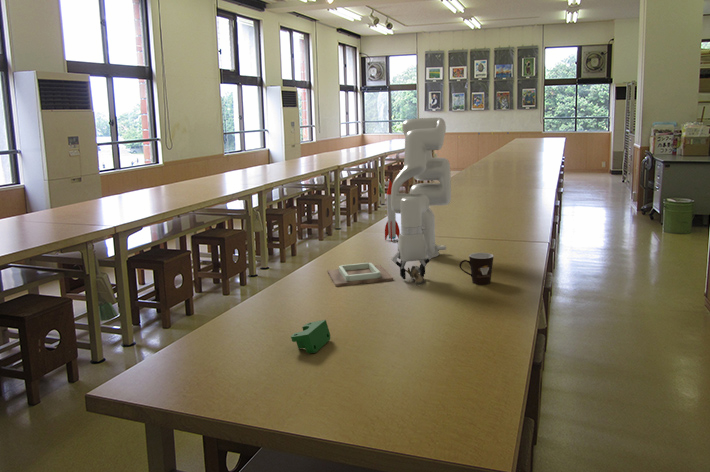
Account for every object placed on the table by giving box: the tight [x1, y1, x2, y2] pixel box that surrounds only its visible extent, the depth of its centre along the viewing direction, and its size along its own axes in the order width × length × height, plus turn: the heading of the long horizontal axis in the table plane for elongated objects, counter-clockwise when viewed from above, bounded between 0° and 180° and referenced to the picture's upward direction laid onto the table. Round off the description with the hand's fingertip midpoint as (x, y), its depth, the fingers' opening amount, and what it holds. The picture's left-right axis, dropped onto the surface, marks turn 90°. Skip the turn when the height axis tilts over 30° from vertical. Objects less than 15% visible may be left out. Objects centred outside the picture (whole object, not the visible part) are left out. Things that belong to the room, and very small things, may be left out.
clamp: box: [290, 319, 331, 354], centre depth 153 cm, size 12×6×9 cm, turn 152°
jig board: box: [327, 262, 394, 287], centre depth 218 cm, size 22×20×3 cm
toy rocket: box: [384, 179, 401, 243], centre depth 276 cm, size 6×6×30 cm
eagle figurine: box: [405, 265, 426, 286], centre depth 207 cm, size 8×7×9 cm
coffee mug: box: [459, 252, 494, 286], centre depth 203 cm, size 12×9×10 cm
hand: (412, 276), depth 210 cm, fingers closed on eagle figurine, 6 cm apart
